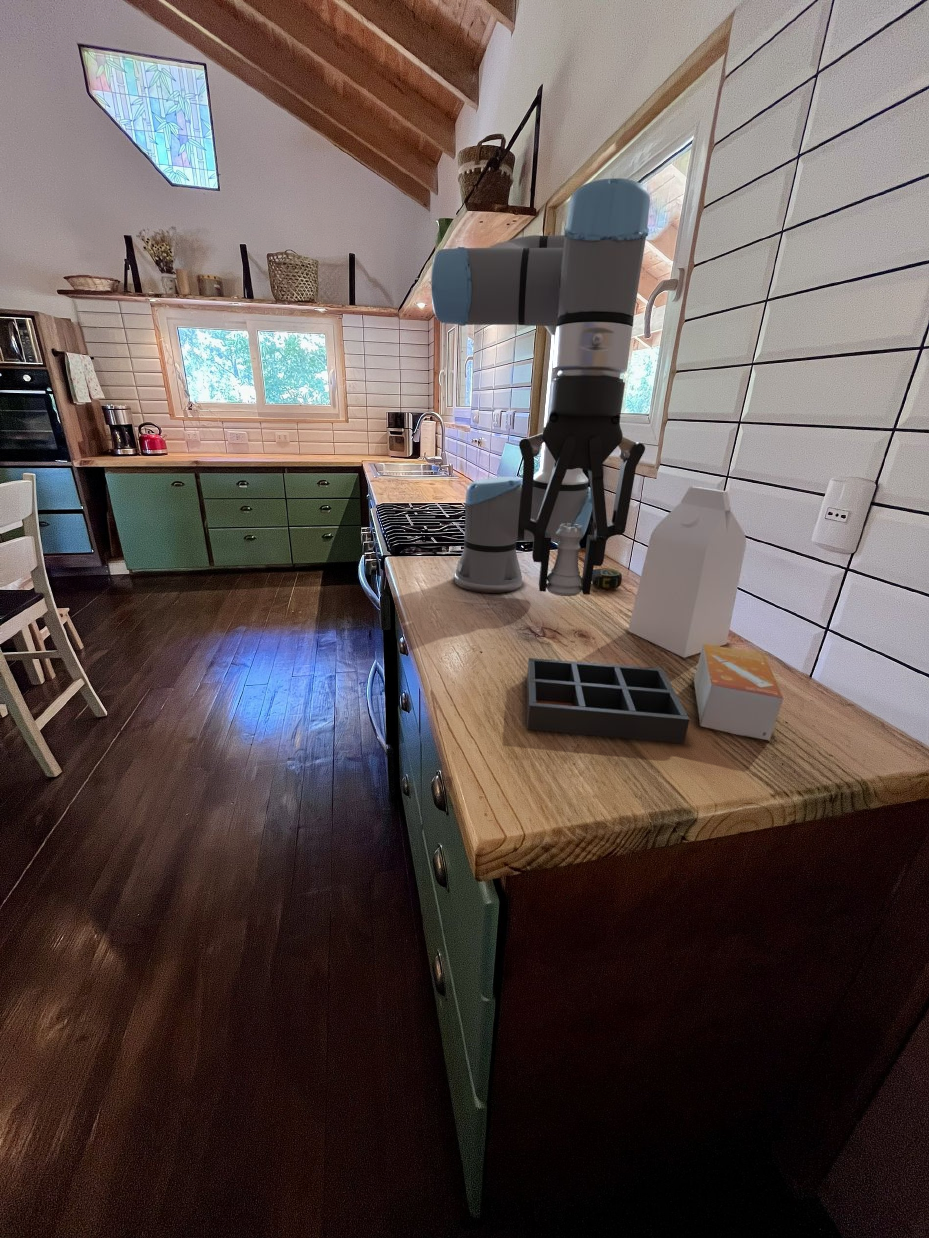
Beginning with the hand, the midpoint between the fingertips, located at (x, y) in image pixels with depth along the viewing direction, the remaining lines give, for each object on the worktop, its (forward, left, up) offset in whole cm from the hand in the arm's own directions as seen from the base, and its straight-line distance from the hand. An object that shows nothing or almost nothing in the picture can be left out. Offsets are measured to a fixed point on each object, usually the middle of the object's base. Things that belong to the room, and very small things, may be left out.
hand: (563, 588), depth 60 cm
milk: (-27, +24, -17) cm, 39 cm away
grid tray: (0, +6, -17) cm, 18 cm away
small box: (-10, +26, -13) cm, 31 cm away
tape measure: (-52, +14, -17) cm, 57 cm away
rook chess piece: (0, 0, 0) cm, 0 cm away
